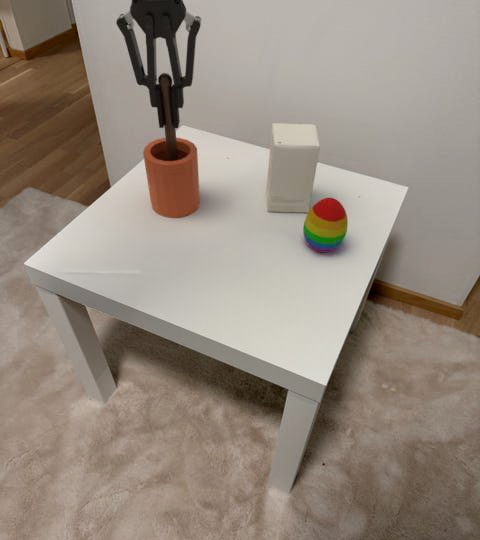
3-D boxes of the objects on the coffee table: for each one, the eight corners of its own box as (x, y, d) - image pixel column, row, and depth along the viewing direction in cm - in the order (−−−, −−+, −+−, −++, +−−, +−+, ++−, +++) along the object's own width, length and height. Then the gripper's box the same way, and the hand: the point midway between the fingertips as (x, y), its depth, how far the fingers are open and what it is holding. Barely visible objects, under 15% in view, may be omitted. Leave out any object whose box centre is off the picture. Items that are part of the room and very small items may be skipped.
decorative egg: (294, 247, 86) (300, 203, 78) (311, 225, 91) (319, 182, 83) (332, 262, 83) (343, 219, 76) (349, 239, 88) (360, 196, 80)
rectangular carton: (309, 213, 93) (321, 146, 82) (266, 212, 93) (272, 145, 82) (306, 189, 99) (316, 123, 87) (266, 187, 99) (271, 121, 87)
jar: (148, 217, 91) (139, 163, 82) (154, 188, 98) (147, 136, 88) (197, 218, 91) (194, 165, 82) (201, 190, 98) (198, 138, 89)
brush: (166, 197, 91) (152, 77, 73) (168, 187, 93) (155, 69, 76) (184, 197, 91) (174, 78, 73) (185, 187, 94) (176, 69, 76)
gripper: (207, -42, 66) (211, 116, 84) (106, -45, 66) (132, 113, 84) (204, -29, 61) (209, 135, 79) (95, -32, 61) (125, 133, 79)
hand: (169, 124), depth 81 cm, fingers closed on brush, 2 cm apart
